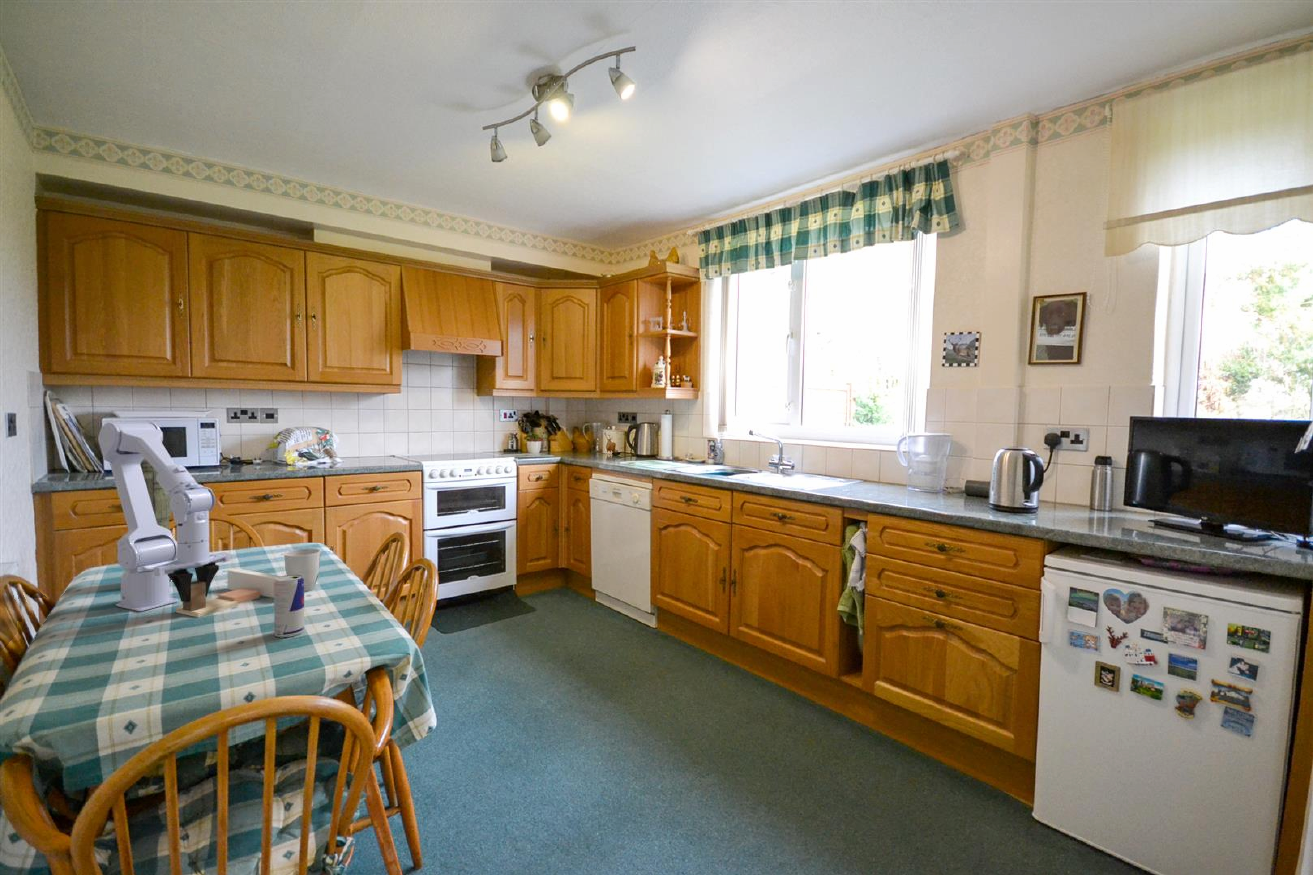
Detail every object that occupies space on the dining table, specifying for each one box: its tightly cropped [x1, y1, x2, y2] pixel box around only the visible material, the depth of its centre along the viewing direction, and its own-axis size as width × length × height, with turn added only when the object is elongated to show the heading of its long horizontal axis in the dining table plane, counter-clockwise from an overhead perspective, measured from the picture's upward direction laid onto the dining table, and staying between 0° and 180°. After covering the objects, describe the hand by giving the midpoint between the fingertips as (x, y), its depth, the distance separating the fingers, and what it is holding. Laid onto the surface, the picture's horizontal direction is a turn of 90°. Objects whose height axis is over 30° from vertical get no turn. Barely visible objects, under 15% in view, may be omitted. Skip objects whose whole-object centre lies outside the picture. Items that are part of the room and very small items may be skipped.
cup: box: [283, 547, 321, 593], centre depth 148 cm, size 8×8×10 cm
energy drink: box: [273, 574, 305, 639], centre depth 119 cm, size 5×5×12 cm
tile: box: [217, 588, 261, 605], centre depth 139 cm, size 6×6×2 cm
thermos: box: [135, 459, 172, 583], centre depth 150 cm, size 9×12×35 cm
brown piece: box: [175, 579, 239, 618], centre depth 133 cm, size 8×8×7 cm
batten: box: [226, 568, 281, 599], centre depth 144 cm, size 22×2×5 cm, turn 70°
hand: (194, 598), depth 130 cm, fingers closed on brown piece, 3 cm apart
